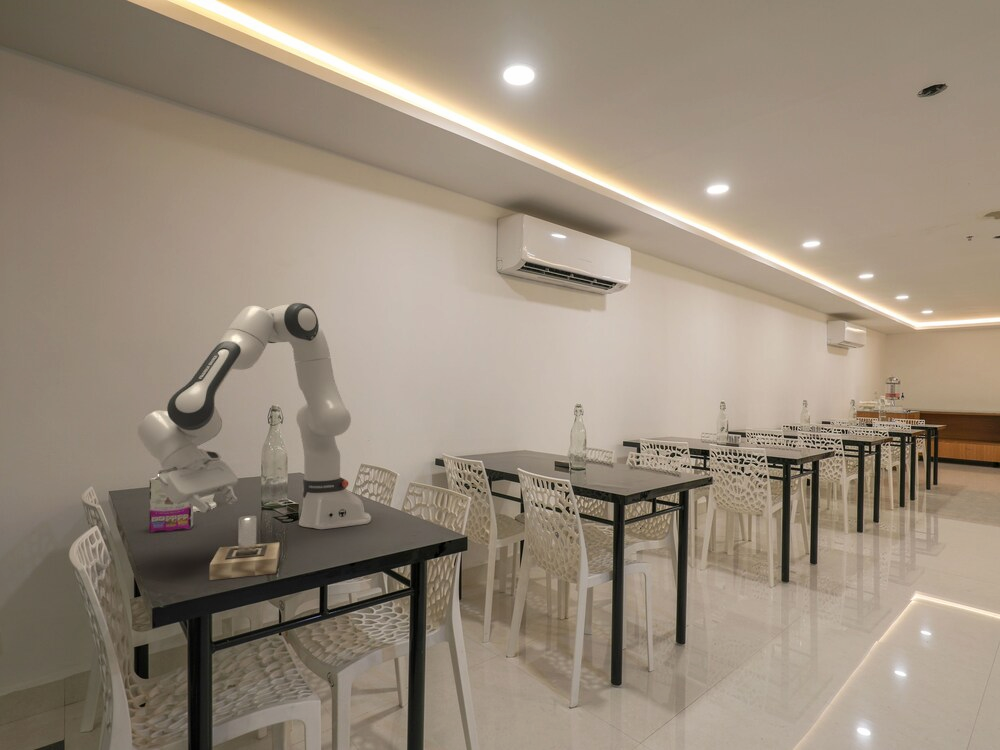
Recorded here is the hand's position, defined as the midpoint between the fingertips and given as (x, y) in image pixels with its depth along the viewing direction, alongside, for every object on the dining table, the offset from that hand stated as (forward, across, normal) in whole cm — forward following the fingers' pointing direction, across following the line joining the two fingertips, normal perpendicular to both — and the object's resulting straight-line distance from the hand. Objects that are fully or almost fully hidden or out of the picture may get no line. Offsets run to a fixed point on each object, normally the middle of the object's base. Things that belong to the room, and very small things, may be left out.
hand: (221, 506), depth 135 cm
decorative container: (-26, +54, +47) cm, 76 cm away
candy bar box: (-17, +27, +37) cm, 49 cm away
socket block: (+15, 0, +5) cm, 16 cm away
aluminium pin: (+15, 0, +5) cm, 16 cm away
